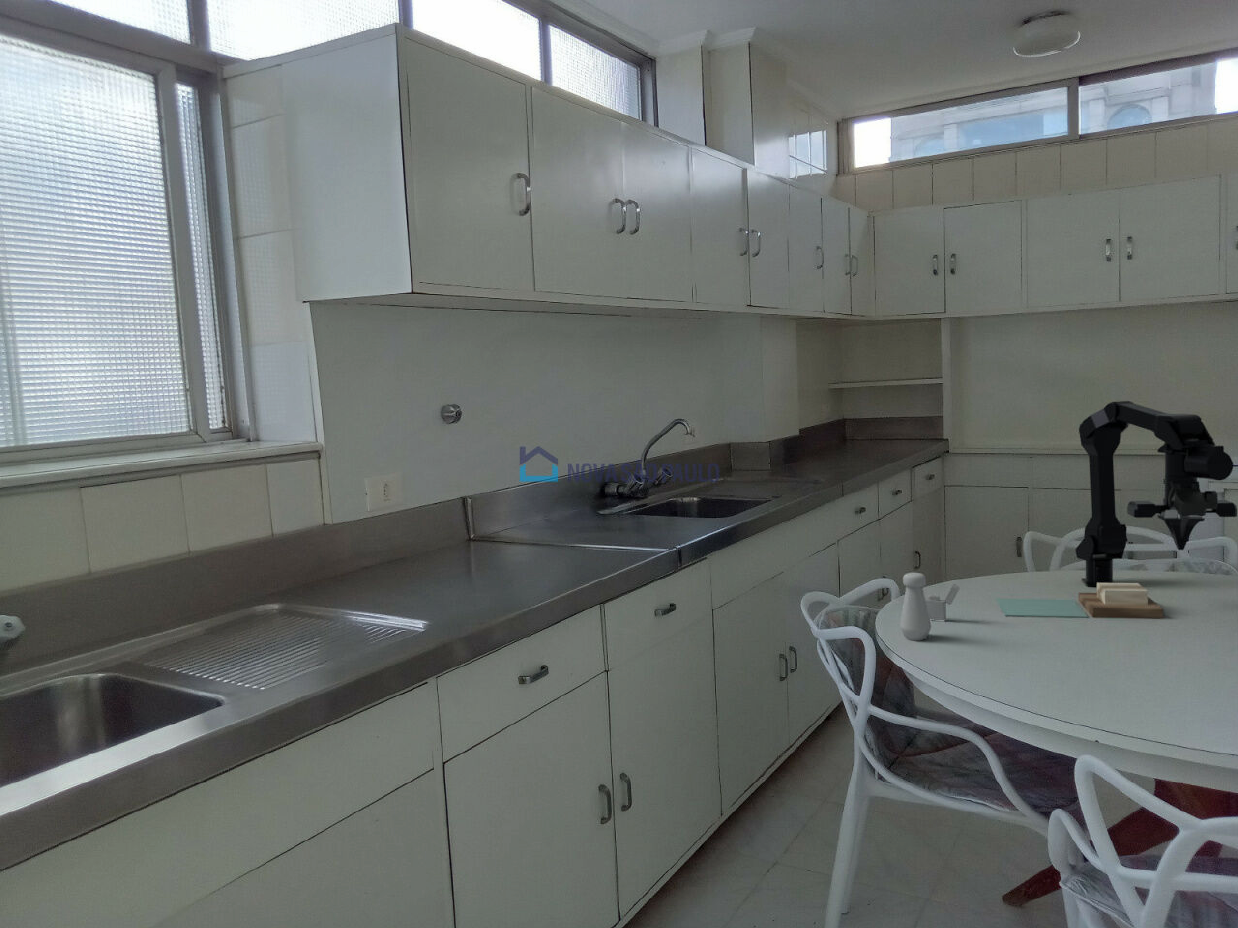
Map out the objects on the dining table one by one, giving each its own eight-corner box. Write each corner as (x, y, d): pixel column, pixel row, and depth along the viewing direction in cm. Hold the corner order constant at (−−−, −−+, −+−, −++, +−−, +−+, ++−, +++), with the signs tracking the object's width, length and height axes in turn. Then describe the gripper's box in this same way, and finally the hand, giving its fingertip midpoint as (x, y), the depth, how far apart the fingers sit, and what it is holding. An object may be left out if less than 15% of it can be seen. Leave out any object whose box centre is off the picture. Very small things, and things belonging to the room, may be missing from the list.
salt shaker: (931, 634, 181) (930, 570, 179) (931, 642, 175) (930, 577, 174) (901, 632, 183) (899, 570, 181) (900, 641, 177) (898, 576, 176)
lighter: (924, 619, 191) (923, 583, 190) (926, 617, 192) (925, 581, 192) (958, 623, 187) (958, 585, 186) (960, 621, 189) (960, 584, 188)
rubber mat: (996, 599, 204) (996, 598, 204) (1073, 600, 200) (1073, 599, 200) (1005, 616, 191) (1005, 614, 191) (1088, 617, 186) (1088, 616, 186)
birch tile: (1096, 596, 195) (1096, 582, 195) (1137, 596, 193) (1137, 583, 193) (1105, 604, 188) (1105, 590, 188) (1147, 604, 186) (1147, 590, 186)
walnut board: (1078, 601, 199) (1078, 592, 199) (1144, 602, 196) (1144, 593, 195) (1092, 617, 187) (1092, 607, 186) (1162, 618, 183) (1163, 608, 183)
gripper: (1142, 481, 180) (1141, 557, 181) (1248, 479, 175) (1247, 557, 176) (1126, 474, 191) (1126, 546, 192) (1226, 472, 186) (1225, 546, 187)
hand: (1180, 549), depth 187 cm, fingers closed
